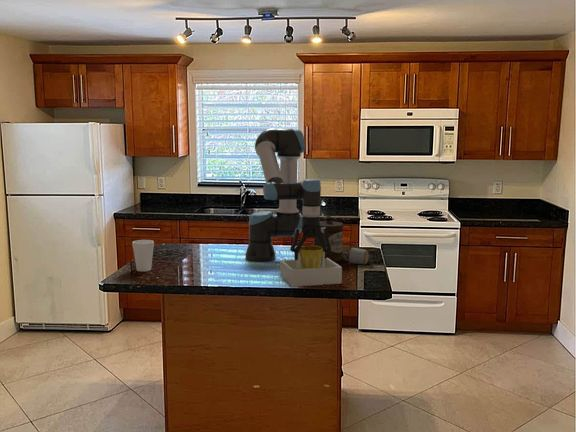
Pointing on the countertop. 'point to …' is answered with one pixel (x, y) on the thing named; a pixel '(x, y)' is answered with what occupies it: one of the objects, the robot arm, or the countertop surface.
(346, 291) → the countertop surface
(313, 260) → the plant pot
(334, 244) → the wooden container
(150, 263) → the foam cup
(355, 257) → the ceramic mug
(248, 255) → the robot arm
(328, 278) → the crate
